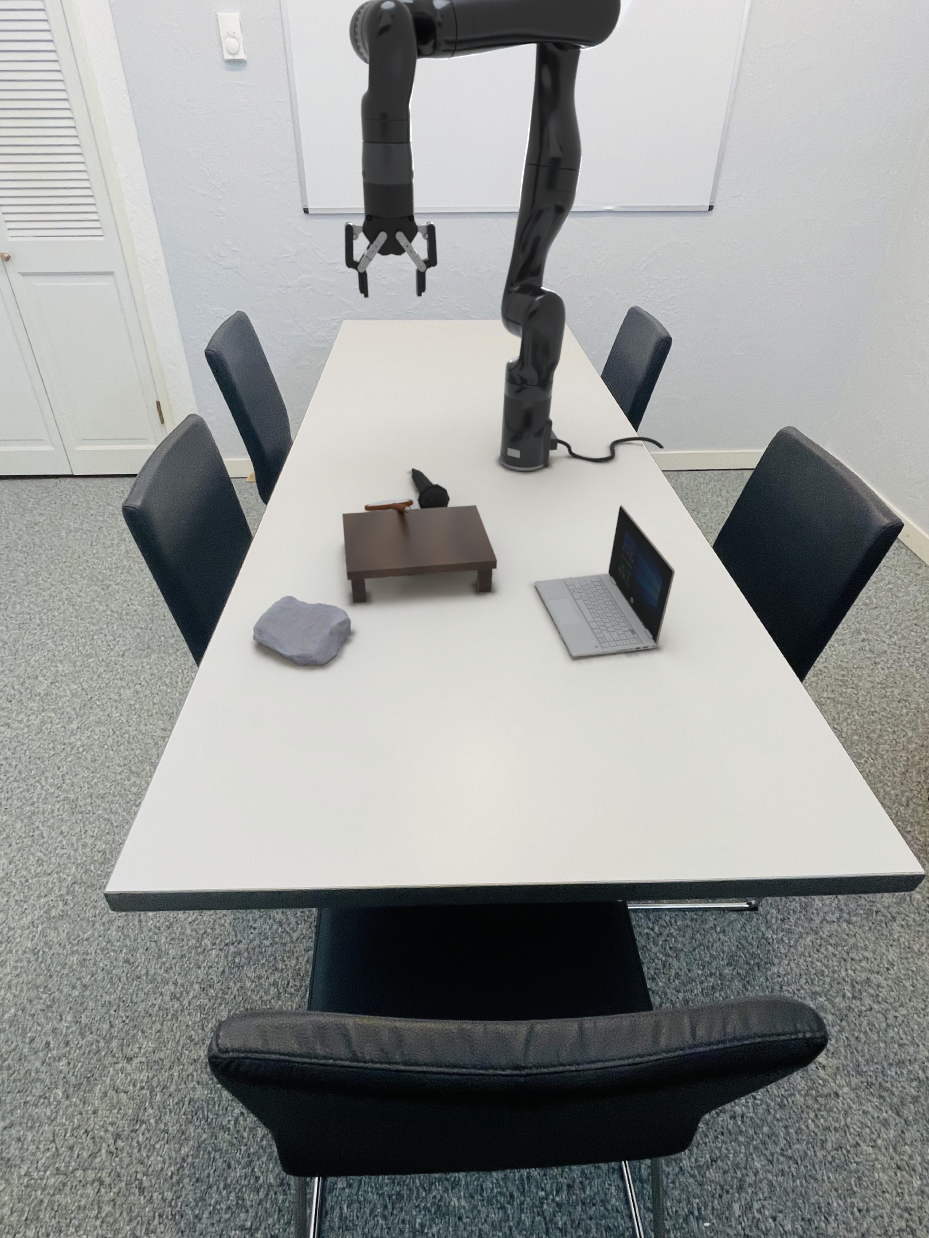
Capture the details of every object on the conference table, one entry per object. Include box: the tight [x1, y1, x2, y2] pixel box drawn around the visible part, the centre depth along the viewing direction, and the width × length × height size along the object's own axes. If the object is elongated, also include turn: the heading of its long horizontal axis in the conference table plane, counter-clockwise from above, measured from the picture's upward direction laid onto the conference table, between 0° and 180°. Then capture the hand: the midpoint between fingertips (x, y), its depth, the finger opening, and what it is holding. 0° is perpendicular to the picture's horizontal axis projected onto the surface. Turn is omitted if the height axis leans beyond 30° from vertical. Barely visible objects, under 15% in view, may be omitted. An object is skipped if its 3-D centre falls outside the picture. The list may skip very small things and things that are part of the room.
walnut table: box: [342, 504, 498, 604], centre depth 112 cm, size 22×17×6 cm
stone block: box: [252, 595, 352, 666], centre depth 98 cm, size 12×5×10 cm
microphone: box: [411, 467, 450, 509], centre depth 132 cm, size 6×6×20 cm
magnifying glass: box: [363, 498, 414, 513], centre depth 120 cm, size 9×2×20 cm
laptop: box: [534, 504, 676, 658], centre depth 101 cm, size 18×12×13 cm
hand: (392, 296), depth 115 cm, fingers open, 8 cm apart
